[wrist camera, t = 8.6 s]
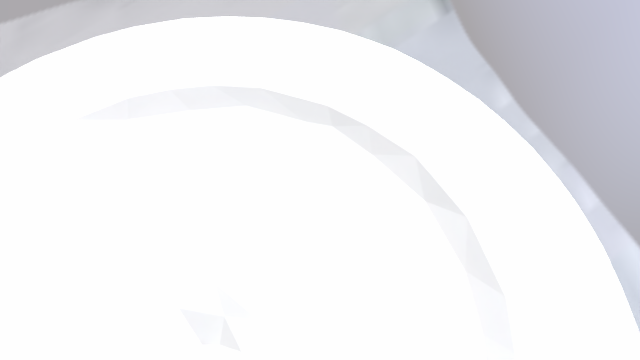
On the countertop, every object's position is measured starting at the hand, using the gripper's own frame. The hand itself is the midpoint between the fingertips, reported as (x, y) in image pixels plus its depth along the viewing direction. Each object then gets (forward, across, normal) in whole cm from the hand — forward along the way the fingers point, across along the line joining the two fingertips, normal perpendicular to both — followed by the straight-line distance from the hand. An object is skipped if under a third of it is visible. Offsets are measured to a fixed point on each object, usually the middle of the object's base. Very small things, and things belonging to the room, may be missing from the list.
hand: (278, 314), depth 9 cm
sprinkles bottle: (+4, 0, +6) cm, 7 cm away
